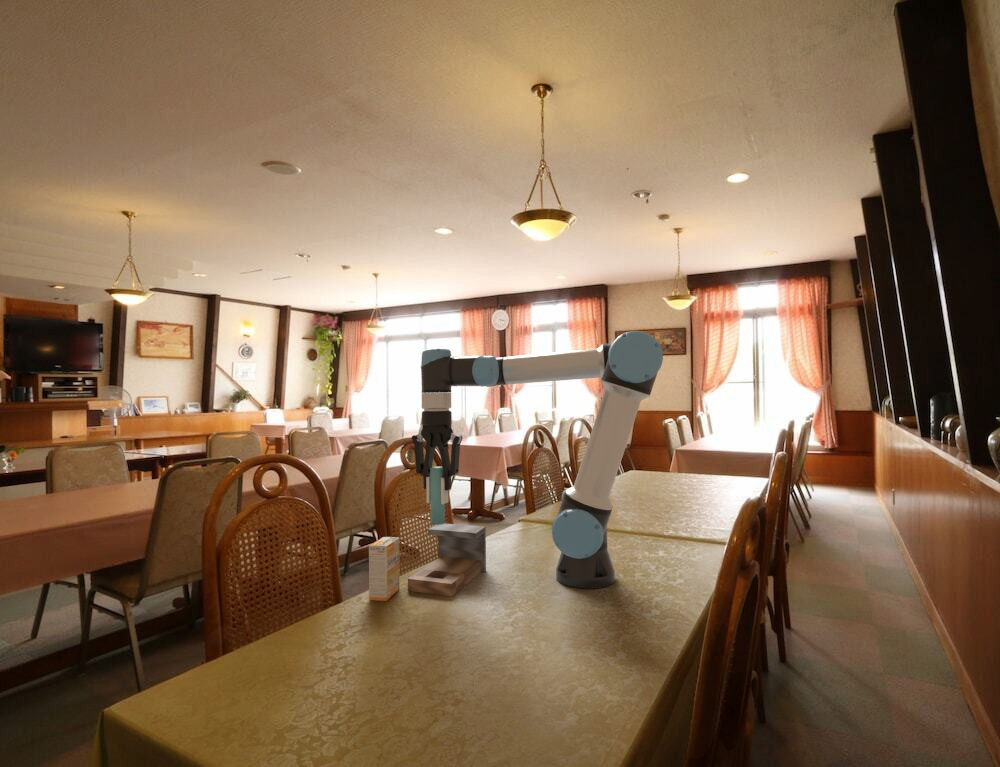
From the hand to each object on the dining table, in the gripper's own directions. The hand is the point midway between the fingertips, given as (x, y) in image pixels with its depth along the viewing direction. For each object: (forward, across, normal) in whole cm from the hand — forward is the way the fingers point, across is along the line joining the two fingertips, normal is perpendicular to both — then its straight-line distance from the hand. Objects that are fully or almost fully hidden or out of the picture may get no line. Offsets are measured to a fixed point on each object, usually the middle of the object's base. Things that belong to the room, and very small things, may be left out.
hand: (437, 502), depth 138 cm
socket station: (+21, 0, -4) cm, 22 cm away
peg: (+5, 0, 0) cm, 5 cm away
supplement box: (+21, +10, +9) cm, 25 cm away
